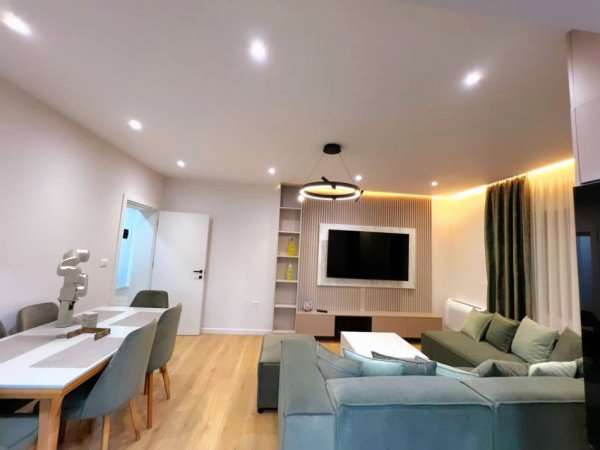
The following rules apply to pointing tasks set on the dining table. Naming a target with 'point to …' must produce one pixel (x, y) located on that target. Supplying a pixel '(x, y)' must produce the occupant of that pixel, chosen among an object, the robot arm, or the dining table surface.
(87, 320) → the supplement box
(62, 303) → the sage block
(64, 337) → the slate coaster
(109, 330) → the wooden u-shaped frame
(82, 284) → the robot arm
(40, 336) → the dining table surface
